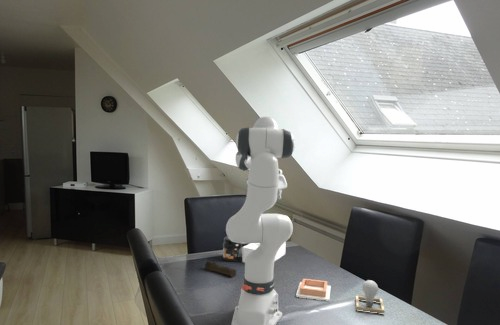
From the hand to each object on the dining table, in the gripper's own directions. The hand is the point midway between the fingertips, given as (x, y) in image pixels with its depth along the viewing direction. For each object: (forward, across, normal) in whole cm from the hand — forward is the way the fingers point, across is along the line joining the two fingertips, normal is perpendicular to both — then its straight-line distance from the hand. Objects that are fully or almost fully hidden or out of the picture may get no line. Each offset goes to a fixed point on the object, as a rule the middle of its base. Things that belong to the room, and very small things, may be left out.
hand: (271, 201), depth 176 cm
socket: (+44, +3, -16) cm, 47 cm away
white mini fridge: (+30, -1, +30) cm, 42 cm away
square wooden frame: (+52, +18, -33) cm, 64 cm away
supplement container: (+25, -19, +33) cm, 46 cm away
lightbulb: (+52, +18, -33) cm, 64 cm away
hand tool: (+29, -31, +16) cm, 45 cm away
